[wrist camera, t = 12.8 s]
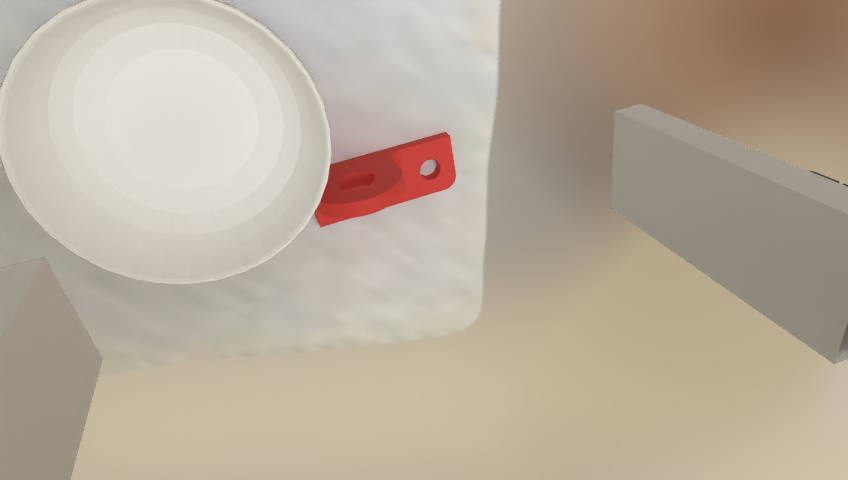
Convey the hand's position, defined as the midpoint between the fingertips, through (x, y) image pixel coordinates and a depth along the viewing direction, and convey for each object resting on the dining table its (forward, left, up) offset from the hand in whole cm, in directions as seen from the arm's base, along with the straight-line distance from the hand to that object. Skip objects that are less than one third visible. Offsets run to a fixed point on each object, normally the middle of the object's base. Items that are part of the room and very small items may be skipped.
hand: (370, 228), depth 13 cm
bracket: (+6, -12, -31) cm, 34 cm away
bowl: (-7, -5, -31) cm, 32 cm away
